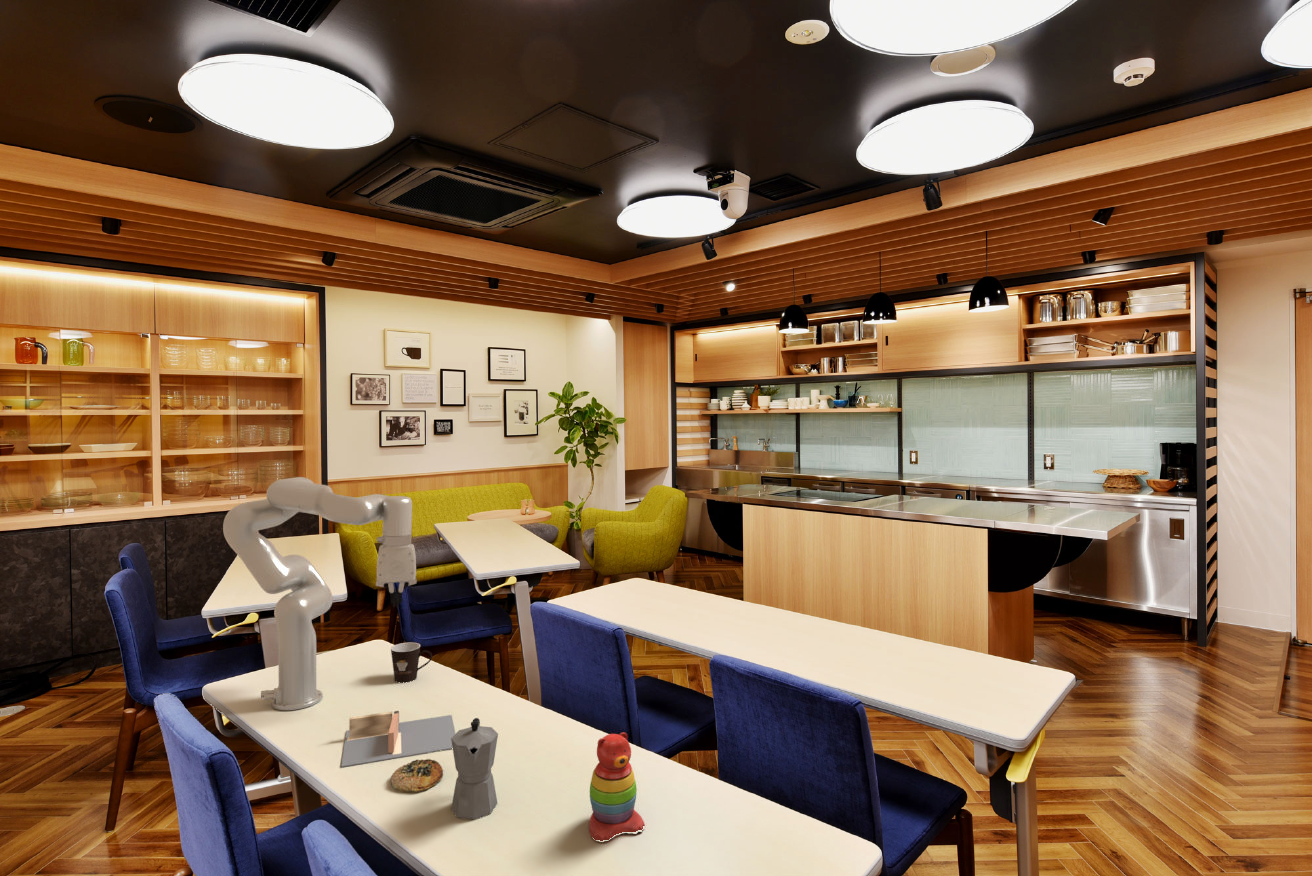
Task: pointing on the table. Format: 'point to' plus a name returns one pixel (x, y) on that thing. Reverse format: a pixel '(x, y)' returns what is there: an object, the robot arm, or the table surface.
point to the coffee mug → (406, 661)
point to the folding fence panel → (393, 733)
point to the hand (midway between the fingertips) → (396, 605)
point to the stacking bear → (613, 790)
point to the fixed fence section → (370, 725)
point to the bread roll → (417, 776)
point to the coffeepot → (474, 771)
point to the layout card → (401, 741)
